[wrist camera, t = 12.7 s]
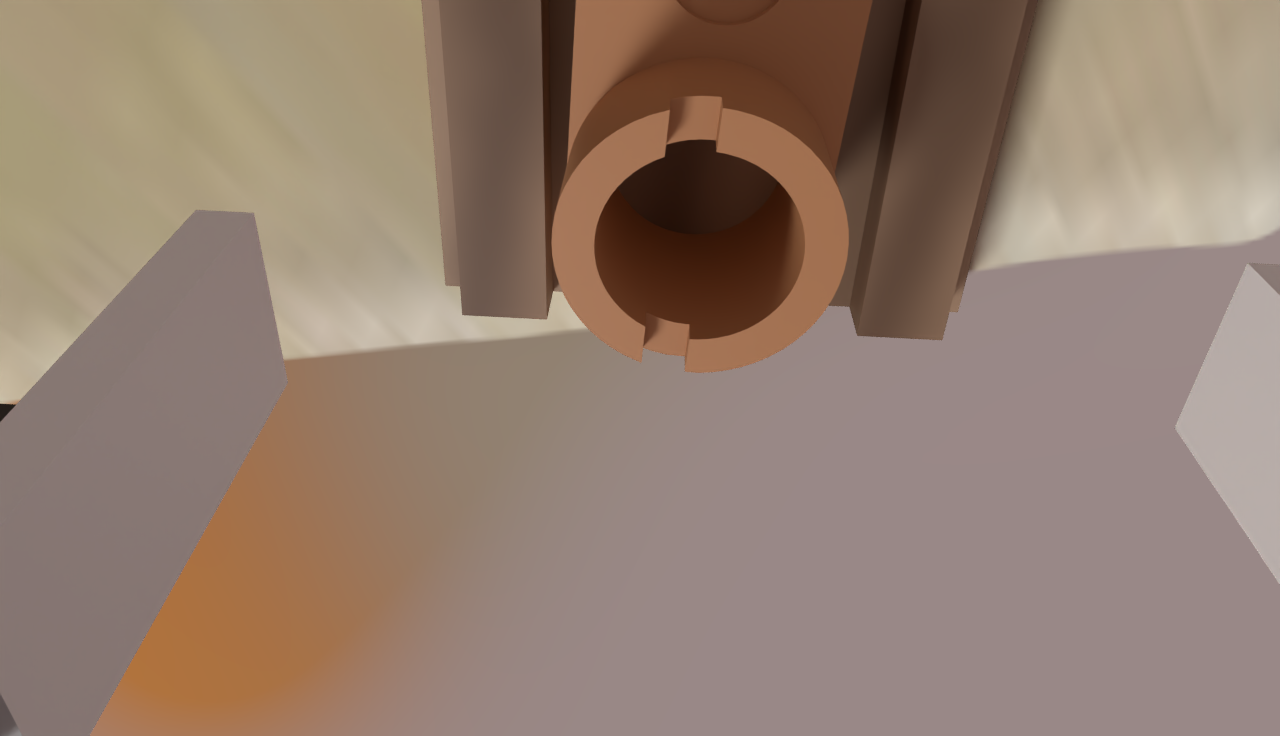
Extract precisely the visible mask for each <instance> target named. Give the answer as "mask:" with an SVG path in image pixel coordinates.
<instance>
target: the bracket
mask: <svg viewBox="0 0 1280 736" xmlns="http://www.w3.org/2000/svg"><path fill="white" fill-rule="evenodd" d="M872 1H873V0H576V9H575V28H574V46H573V65H572V83H571V102H570V120H569V139H568V157H567V167H566V171H565V175H564V179H563V183H562V187H561V191H560V195H559V199H558V203H557V207H556V211H555V215H554V221H553V227H552V242H551V243H552V257H553V262H554V268H555V272H556V275H557V278H558V282H559V285H560V287H561V289H562V291H563V293H564V296H565V298H566V299H567V301H568V303H569V304H570V306H571V308H572V309H573V311H574V312H575V313H576V315H577V316H578V317H579V319H580V320H581V321H582V322H583V323H584V324H585V326H586V327H587V328H588V329H589V330H590V331H591V332H592V333H594V334H595V335H596V336H597V337H598V338H599V339H600V340H602V341H603V342H604V343H606V344H607V345H609V346H610V347H612V348H613V349H615V350H616V351H618V352H620V353H622V354H624V355H625V356H627V357H630V358H632V359H634V360H636V361H639V362H641V361H642V351H643V348H645V349H649V350H651V351H655V352H659V353H663V354H668V355H677V356H685V371H686V372H696V373H702V372H716V371H723V370H730V369H734V368H739V367H743V366H746V365H749V364H752V363H755V362H758V361H760V360H762V359H765V358H767V357H769V356H771V355H773V354H775V353H777V352H779V351H781V350H782V349H784V348H785V347H787V346H788V345H790V344H791V343H793V342H794V341H795V340H797V339H798V338H799V337H800V336H801V335H803V334H804V333H805V332H806V331H807V330H808V329H809V328H810V327H811V326H812V325H813V324H814V323H815V322H816V321H817V320H818V318H819V317H820V316H821V315H822V314H823V312H824V311H825V310H826V308H827V306H828V305H829V303H830V302H831V300H832V299H833V297H834V295H835V293H836V291H837V289H838V287H839V284H840V282H841V279H842V276H843V273H844V270H845V265H846V261H847V255H848V246H849V228H848V221H847V214H846V210H845V206H844V203H843V199H842V196H841V193H840V189H839V186H838V183H837V180H836V176H835V169H836V165H837V160H838V156H839V151H840V147H841V142H842V137H843V133H844V128H845V124H846V119H847V115H848V110H849V105H850V101H851V96H852V92H853V87H854V83H855V78H856V74H857V69H858V64H859V60H860V55H861V51H862V46H863V42H864V37H865V33H866V28H867V23H868V19H869V14H870V10H871V5H872ZM697 139H704V140H716V151H717V152H719V153H725V154H729V155H732V156H736V157H739V158H742V159H744V160H747V161H749V162H751V163H753V164H755V165H757V166H759V167H760V168H762V169H763V170H765V171H766V172H768V173H769V174H770V175H771V176H773V177H774V178H775V179H776V180H777V181H778V183H777V185H776V187H775V189H774V191H773V193H772V194H771V196H770V197H769V198H768V200H767V201H766V202H765V203H764V204H763V206H762V207H761V208H760V209H759V210H757V211H756V212H755V213H754V214H753V215H752V216H750V217H749V218H747V219H746V220H744V221H743V222H741V223H739V224H737V225H735V226H733V227H731V228H728V229H725V230H722V231H718V232H714V233H707V234H684V233H677V232H674V231H670V230H667V229H664V228H661V227H659V226H657V225H655V224H653V223H651V222H649V221H648V220H646V219H645V218H643V217H642V216H641V215H639V214H638V213H637V212H636V211H635V210H634V209H633V208H632V207H631V206H630V205H629V204H628V202H627V201H626V200H625V199H624V197H623V196H622V194H621V192H620V191H619V189H618V186H619V185H620V184H621V183H622V182H623V181H624V180H625V179H626V178H628V177H629V176H630V175H631V174H632V173H634V172H635V171H637V170H638V169H640V168H641V167H643V166H645V165H647V164H649V163H651V162H653V161H655V160H658V159H660V158H663V157H665V149H666V145H667V144H671V143H674V142H679V141H685V140H697Z"/></svg>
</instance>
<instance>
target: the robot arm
mask: <svg viewBox="0 0 1280 736" xmlns="http://www.w3.org/2000/svg"><path fill="white" fill-rule="evenodd" d="M287 383H288V381H287V376H286V371H285V366H284V361H283V356H282V351H281V346H280V341H279V336H278V331H277V326H276V321H275V316H274V311H273V306H272V301H271V296H270V291H269V286H268V281H267V276H266V271H265V266H264V261H263V256H262V251H261V246H260V241H259V236H258V231H257V226H256V221H255V217H254V213H246V212H226V211H206V210H196V211H195V212H194V213H193V214H192V215H191V216H190V217H189V218H188V219H187V220H186V221H185V222H184V224H183V225H182V226H181V227H180V228H179V229H178V230H177V231H176V232H175V233H174V234H173V235H172V237H171V238H170V239H169V240H168V241H167V242H166V243H165V244H164V245H163V246H162V247H161V248H160V250H159V251H158V252H157V253H156V254H155V255H154V256H153V257H152V258H151V259H150V260H149V261H148V263H147V264H146V265H145V266H144V267H143V268H142V269H141V270H140V271H139V272H138V273H137V274H136V276H135V277H134V278H133V279H132V280H131V281H130V282H129V283H128V284H127V285H126V286H125V287H124V289H123V290H122V291H121V292H120V293H119V294H118V295H117V296H116V297H115V298H114V299H113V300H112V302H111V303H110V304H109V305H108V306H107V307H106V308H105V309H104V310H103V311H102V312H101V313H100V315H99V316H98V317H97V318H96V319H95V320H94V321H93V322H92V323H91V324H90V325H89V326H88V328H87V329H86V330H85V331H84V332H83V333H82V334H81V335H80V336H79V337H78V338H77V339H76V341H75V342H74V343H73V344H72V345H71V346H70V347H69V348H68V349H67V350H66V351H65V352H64V354H63V355H62V356H61V357H60V358H59V359H58V360H57V361H56V362H55V363H54V364H53V365H52V367H51V368H50V369H49V370H48V371H47V372H46V373H45V374H44V375H43V376H42V377H41V378H40V380H39V381H38V382H37V383H36V384H35V385H34V386H33V387H32V388H31V389H30V390H29V391H28V393H27V394H26V395H25V396H24V397H23V398H22V399H21V400H20V401H19V402H18V403H17V404H16V405H13V404H0V736H90V734H91V732H92V730H93V728H94V727H95V725H96V723H97V721H98V719H99V718H100V716H101V714H102V712H103V711H104V709H105V707H106V705H107V703H108V702H109V700H110V698H111V696H112V695H113V693H114V691H115V689H116V687H117V686H118V684H119V682H120V680H121V678H122V677H123V675H124V673H125V671H126V670H127V668H128V666H129V664H130V662H131V661H132V659H133V657H134V655H135V654H136V652H137V650H138V648H139V647H140V645H141V643H142V641H143V639H144V638H145V636H146V634H147V632H148V631H149V629H150V627H151V625H152V623H153V621H154V620H155V618H156V616H157V614H158V613H159V611H160V609H161V607H162V606H163V604H164V602H165V600H166V598H167V596H168V595H169V593H170V591H171V590H172V588H173V586H174V584H175V582H176V581H177V579H178V577H179V575H180V574H181V572H182V570H183V568H184V566H185V565H186V563H187V561H188V559H189V558H190V556H191V554H192V552H193V550H194V549H195V547H196V545H197V543H198V541H199V540H200V538H201V536H202V534H203V533H204V530H205V529H206V527H207V526H208V524H209V522H210V520H211V518H212V517H213V515H214V513H215V511H216V510H217V508H218V506H219V504H220V502H221V500H222V499H223V497H224V495H225V493H226V492H227V490H228V488H229V486H230V485H231V483H232V481H233V479H234V477H235V476H236V474H237V472H238V470H239V468H240V467H241V465H242V463H243V461H244V459H245V458H246V456H247V454H248V452H249V451H250V449H251V447H252V445H253V444H254V442H255V440H256V438H257V437H258V435H259V433H260V431H261V429H262V428H263V426H264V424H265V422H266V421H267V419H268V417H269V415H270V413H271V412H272V410H273V408H274V406H275V404H276V403H277V401H278V399H279V397H280V396H281V394H282V392H283V390H284V388H285V387H286V385H287ZM1175 429H1176V430H1177V432H1178V433H1179V435H1180V436H1181V438H1182V439H1183V441H1184V442H1185V444H1186V445H1187V446H1188V448H1189V450H1190V451H1191V453H1192V454H1193V455H1194V457H1195V459H1196V460H1197V462H1198V463H1199V464H1200V466H1201V468H1202V469H1203V470H1204V472H1205V473H1206V475H1207V476H1208V478H1209V480H1210V481H1211V483H1212V484H1213V485H1214V487H1215V489H1216V490H1217V491H1218V493H1219V494H1220V496H1221V497H1222V499H1223V500H1224V502H1225V503H1226V505H1227V506H1228V508H1229V509H1230V511H1231V512H1232V514H1233V515H1234V517H1235V518H1236V520H1237V521H1238V523H1239V524H1240V526H1241V527H1242V529H1243V530H1244V532H1245V533H1246V535H1247V536H1248V538H1249V539H1250V541H1251V542H1252V544H1253V545H1254V547H1255V548H1256V550H1257V551H1258V553H1259V554H1260V556H1261V557H1262V559H1263V560H1264V562H1265V563H1266V565H1267V566H1268V568H1269V569H1270V571H1271V572H1272V574H1273V575H1274V577H1275V578H1276V579H1277V581H1278V583H1279V584H1280V265H1277V264H1256V263H1248V264H1247V266H1246V268H1245V270H1244V273H1243V275H1242V277H1241V279H1240V282H1239V284H1238V286H1237V289H1236V291H1235V293H1234V296H1233V297H1232V300H1231V302H1230V304H1229V306H1228V309H1227V312H1226V313H1225V316H1224V318H1223V320H1222V322H1221V325H1220V327H1219V329H1218V331H1217V334H1216V336H1215V338H1214V340H1213V343H1212V345H1211V347H1210V349H1209V352H1208V354H1207V356H1206V359H1205V361H1204V363H1203V365H1202V368H1201V370H1200V372H1199V374H1198V376H1197V379H1196V381H1195V383H1194V386H1193V388H1192V390H1191V392H1190V395H1189V397H1188V399H1187V401H1186V404H1185V406H1184V408H1183V411H1182V413H1181V415H1180V417H1179V419H1178V422H1177V424H1176V426H1175Z"/></svg>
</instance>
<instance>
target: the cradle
mask: <svg viewBox="0 0 1280 736" xmlns="http://www.w3.org/2000/svg"><path fill="white" fill-rule="evenodd" d="M1037 3H1038V0H873V1H872V5H871V10H870V14H869V19H868V23H867V28H866V33H865V37H864V42H863V46H862V51H861V55H860V60H859V64H858V69H857V74H856V78H855V83H854V87H853V92H852V96H851V101H850V105H849V110H848V115H847V119H846V124H845V128H844V133H843V137H842V142H841V147H840V151H839V156H838V160H837V165H836V169H835V176H836V180H837V183H838V186H839V189H840V193H841V196H842V199H843V203H844V206H845V210H846V214H847V221H848V228H849V246H848V255H847V261H846V265H845V270H844V273H843V276H842V279H841V282H840V284H839V287H838V289H837V291H836V293H835V295H834V297H833V299H832V300H831V302H830V303H829V306H847V307H848V306H849V307H850V310H851V314H852V318H853V322H854V325H855V329H856V333H857V335H858V336H872V337H873V336H874V337H891V338H910V339H930V340H931V339H932V340H942V339H943V335H944V331H945V327H946V323H947V319H948V315H949V312H958V309H959V305H960V301H961V297H962V293H963V289H964V286H965V282H966V278H967V274H968V270H969V267H970V263H971V259H972V255H973V251H974V247H975V243H976V239H977V236H978V232H979V228H980V224H981V220H982V216H983V212H984V208H985V205H986V201H987V197H988V193H989V189H990V185H991V181H992V177H993V174H994V170H995V166H996V162H997V158H998V154H999V150H1000V146H1001V142H1002V139H1003V135H1004V131H1005V127H1006V123H1007V119H1008V115H1009V111H1010V108H1011V104H1012V100H1013V96H1014V92H1015V88H1016V84H1017V80H1018V77H1019V73H1020V69H1021V65H1022V61H1023V57H1024V53H1025V49H1026V46H1027V42H1028V38H1029V34H1030V30H1031V26H1032V22H1033V18H1034V14H1035V11H1036V7H1037ZM575 9H576V0H422V12H423V24H424V36H425V47H426V59H427V71H428V83H429V95H430V107H431V118H432V130H433V142H434V154H435V166H436V177H437V189H438V201H439V213H440V225H441V236H442V248H443V260H444V272H445V284H446V286H460V289H461V303H462V315H472V316H491V317H510V318H529V319H547V316H548V312H549V307H550V303H551V298H552V293H553V291H560V292H563V291H562V289H561V287H560V285H559V282H558V278H557V275H556V272H555V268H554V262H553V257H552V243H551V242H552V227H553V221H554V215H555V211H556V207H557V203H558V199H559V195H560V191H561V187H562V183H563V179H564V175H565V171H566V167H567V157H568V139H569V120H570V102H571V83H572V65H573V46H574V28H575ZM777 183H778V181H777V180H776V179H775V178H774V177H773V176H771V175H770V174H769V173H768V172H766V171H765V170H763V169H762V168H760V167H759V166H757V165H755V164H753V163H751V162H749V161H747V160H744V159H742V158H739V157H736V156H732V155H729V154H725V153H719V152H717V151H716V140H704V139H697V140H685V141H679V142H674V143H671V144H667V145H666V149H665V157H663V158H660V159H658V160H655V161H653V162H651V163H649V164H647V165H645V166H643V167H641V168H640V169H638V170H637V171H635V172H634V173H632V174H631V175H630V176H629V177H628V178H626V179H625V180H624V181H623V182H622V183H621V184H620V185H619V186H618V189H619V191H620V192H621V194H622V196H623V197H624V199H625V200H626V201H627V202H628V204H629V205H630V206H631V207H632V208H633V209H634V210H635V211H636V212H637V213H638V214H639V215H641V216H642V217H643V218H645V219H646V220H648V221H649V222H651V223H653V224H655V225H657V226H659V227H661V228H664V229H667V230H670V231H674V232H677V233H684V234H707V233H714V232H718V231H722V230H725V229H728V228H731V227H733V226H735V225H737V224H739V223H741V222H743V221H744V220H746V219H747V218H749V217H750V216H752V215H753V214H754V213H755V212H756V211H757V210H759V209H760V208H761V207H762V206H763V204H764V203H765V202H766V201H767V200H768V198H769V197H770V196H771V194H772V193H773V191H774V189H775V187H776V185H777Z"/></svg>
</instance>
